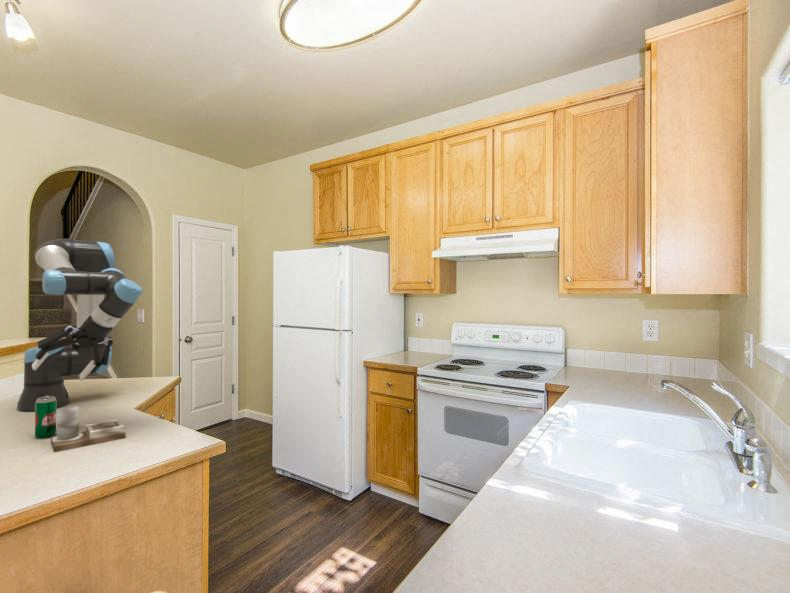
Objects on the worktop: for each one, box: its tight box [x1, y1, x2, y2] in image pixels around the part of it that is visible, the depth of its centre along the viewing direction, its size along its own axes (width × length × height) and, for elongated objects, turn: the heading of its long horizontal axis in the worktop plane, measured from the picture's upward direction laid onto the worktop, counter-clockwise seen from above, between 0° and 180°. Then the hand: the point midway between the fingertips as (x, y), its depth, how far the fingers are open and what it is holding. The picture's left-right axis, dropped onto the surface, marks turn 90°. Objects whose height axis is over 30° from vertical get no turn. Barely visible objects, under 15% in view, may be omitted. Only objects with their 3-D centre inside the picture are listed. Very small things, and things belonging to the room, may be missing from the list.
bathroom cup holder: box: [50, 405, 127, 453], centre depth 123 cm, size 17×10×10 cm, turn 135°
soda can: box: [34, 396, 58, 440], centre depth 125 cm, size 5×5×12 cm
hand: (58, 373), depth 129 cm, fingers open, 13 cm apart
